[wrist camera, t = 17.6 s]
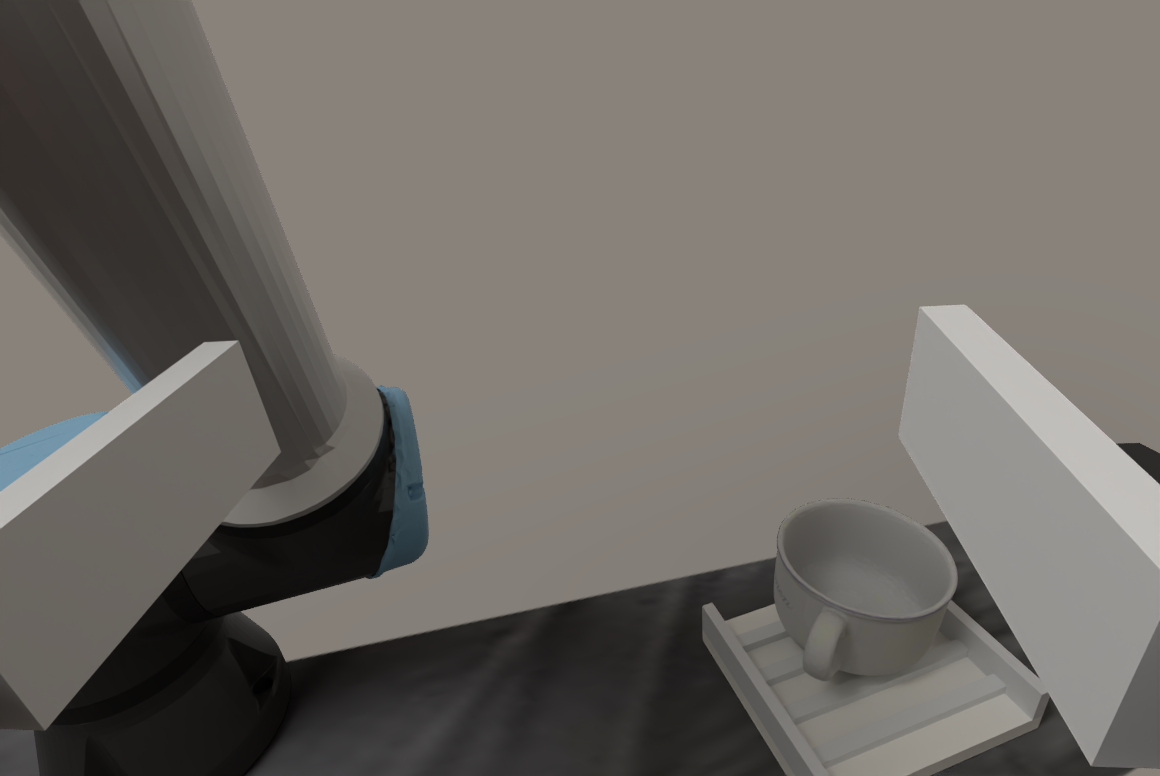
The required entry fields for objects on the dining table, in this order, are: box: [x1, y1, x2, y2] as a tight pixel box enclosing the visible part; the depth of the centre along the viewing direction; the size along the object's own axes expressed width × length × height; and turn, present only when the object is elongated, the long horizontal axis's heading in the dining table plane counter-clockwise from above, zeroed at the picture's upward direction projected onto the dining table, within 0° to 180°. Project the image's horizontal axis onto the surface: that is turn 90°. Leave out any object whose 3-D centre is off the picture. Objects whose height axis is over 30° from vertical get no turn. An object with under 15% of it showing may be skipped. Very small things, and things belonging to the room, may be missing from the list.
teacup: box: [774, 499, 958, 681], centre depth 44 cm, size 14×11×8 cm
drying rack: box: [702, 600, 1050, 776], centre depth 45 cm, size 16×14×4 cm
